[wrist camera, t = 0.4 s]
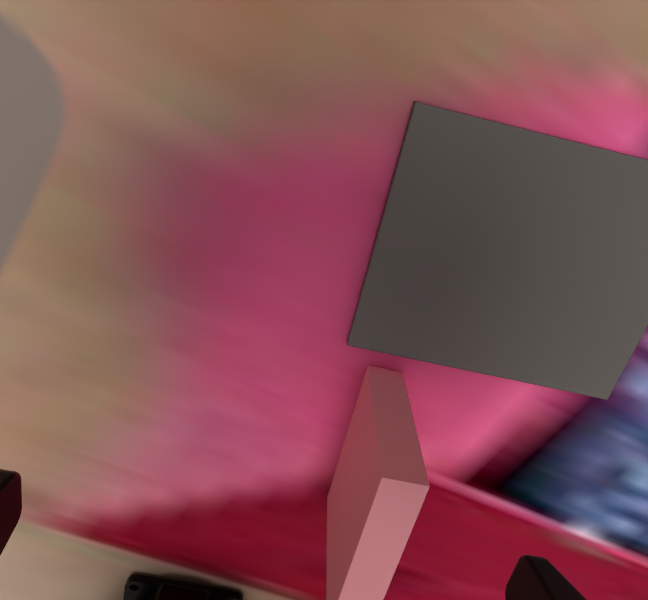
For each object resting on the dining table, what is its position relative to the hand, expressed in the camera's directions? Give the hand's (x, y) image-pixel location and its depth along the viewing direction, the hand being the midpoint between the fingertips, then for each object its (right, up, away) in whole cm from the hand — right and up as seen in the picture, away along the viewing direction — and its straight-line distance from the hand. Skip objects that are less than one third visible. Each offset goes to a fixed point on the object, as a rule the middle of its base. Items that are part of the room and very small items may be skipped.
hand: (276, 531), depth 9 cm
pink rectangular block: (+3, -3, +15) cm, 16 cm away
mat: (+9, +6, +12) cm, 16 cm away
